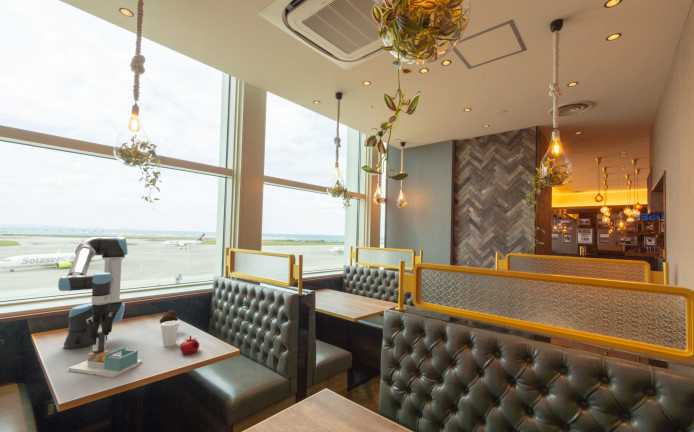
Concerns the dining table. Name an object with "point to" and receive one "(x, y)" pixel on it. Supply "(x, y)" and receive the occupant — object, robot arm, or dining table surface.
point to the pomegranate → (189, 346)
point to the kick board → (99, 368)
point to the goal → (120, 359)
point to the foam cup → (169, 332)
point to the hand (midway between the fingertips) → (99, 349)
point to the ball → (104, 358)
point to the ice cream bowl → (169, 316)
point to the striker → (101, 352)
